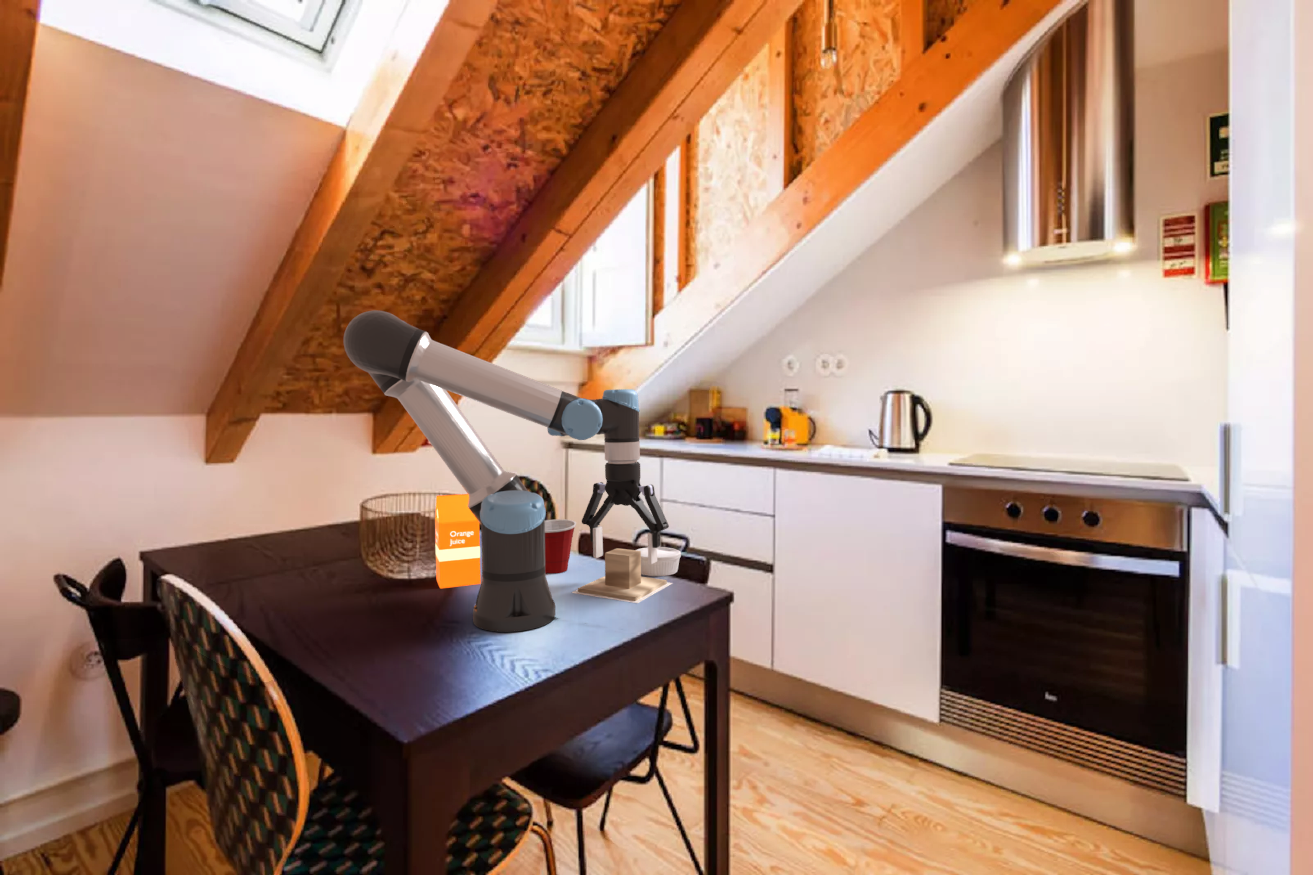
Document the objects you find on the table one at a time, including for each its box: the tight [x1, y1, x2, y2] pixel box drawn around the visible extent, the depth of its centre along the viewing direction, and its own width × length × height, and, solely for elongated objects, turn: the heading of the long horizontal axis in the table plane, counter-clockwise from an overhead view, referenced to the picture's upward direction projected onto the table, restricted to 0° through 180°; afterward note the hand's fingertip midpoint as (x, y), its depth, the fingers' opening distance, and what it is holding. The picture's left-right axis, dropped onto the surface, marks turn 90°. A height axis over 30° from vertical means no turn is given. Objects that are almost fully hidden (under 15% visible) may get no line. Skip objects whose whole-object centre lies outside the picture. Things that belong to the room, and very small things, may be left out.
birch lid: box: [577, 547, 668, 601], centre depth 140 cm, size 14×14×8 cm
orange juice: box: [434, 493, 482, 589], centre depth 147 cm, size 8×9×20 cm
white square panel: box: [571, 581, 673, 604], centre depth 140 cm, size 16×16×1 cm
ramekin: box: [635, 546, 682, 577], centre depth 154 cm, size 11×11×5 cm
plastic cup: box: [545, 518, 577, 575], centre depth 155 cm, size 11×11×12 cm
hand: (624, 559), depth 140 cm, fingers open, 13 cm apart
